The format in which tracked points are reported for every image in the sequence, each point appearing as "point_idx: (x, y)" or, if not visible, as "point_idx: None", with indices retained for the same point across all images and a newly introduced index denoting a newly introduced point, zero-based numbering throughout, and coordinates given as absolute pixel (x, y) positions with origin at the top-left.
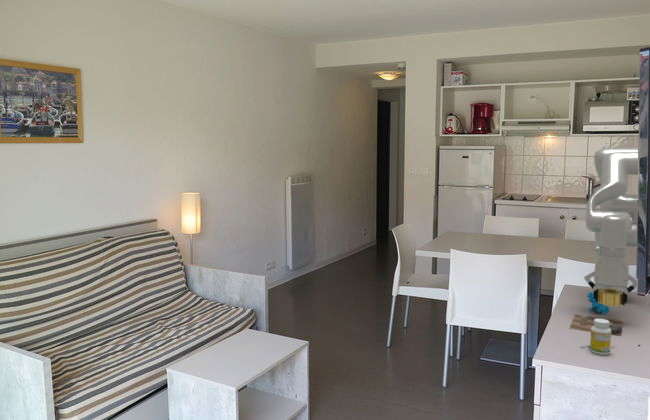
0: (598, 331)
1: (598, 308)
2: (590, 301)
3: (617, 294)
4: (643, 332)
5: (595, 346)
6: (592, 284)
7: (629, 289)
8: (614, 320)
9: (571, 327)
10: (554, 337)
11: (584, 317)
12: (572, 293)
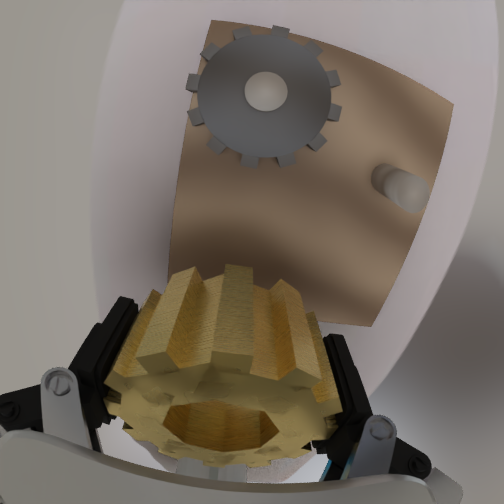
0: None
1: None
2: None
3: (143, 359)
4: (93, 191)
5: None
6: (401, 465)
7: (31, 406)
8: None
9: (444, 120)
10: (482, 45)
11: (408, 173)
12: (289, 464)
